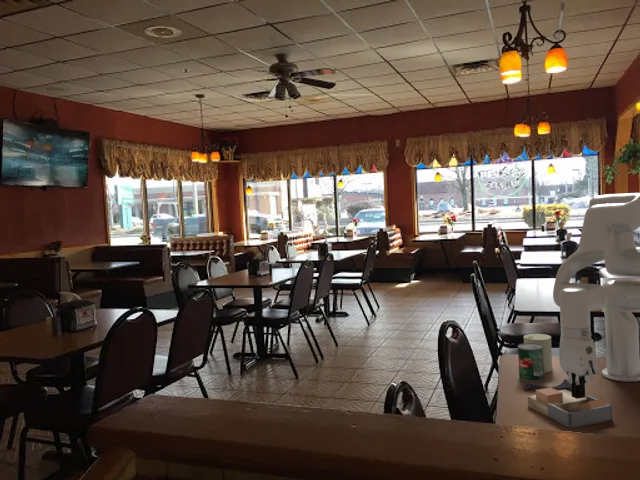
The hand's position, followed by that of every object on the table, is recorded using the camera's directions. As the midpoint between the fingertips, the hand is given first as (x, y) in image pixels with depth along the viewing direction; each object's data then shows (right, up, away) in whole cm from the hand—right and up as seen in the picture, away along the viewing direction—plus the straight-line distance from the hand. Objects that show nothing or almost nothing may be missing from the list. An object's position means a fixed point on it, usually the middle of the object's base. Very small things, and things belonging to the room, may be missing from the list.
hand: (578, 397), depth 153 cm
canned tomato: (-1, -3, +30) cm, 31 cm away
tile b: (-7, -2, +2) cm, 8 cm away
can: (+5, -2, +40) cm, 40 cm away
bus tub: (-2, -5, -5) cm, 7 cm away
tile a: (+1, 0, -4) cm, 4 cm away
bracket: (0, -4, +19) cm, 19 cm away
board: (-4, -4, +4) cm, 7 cm away
